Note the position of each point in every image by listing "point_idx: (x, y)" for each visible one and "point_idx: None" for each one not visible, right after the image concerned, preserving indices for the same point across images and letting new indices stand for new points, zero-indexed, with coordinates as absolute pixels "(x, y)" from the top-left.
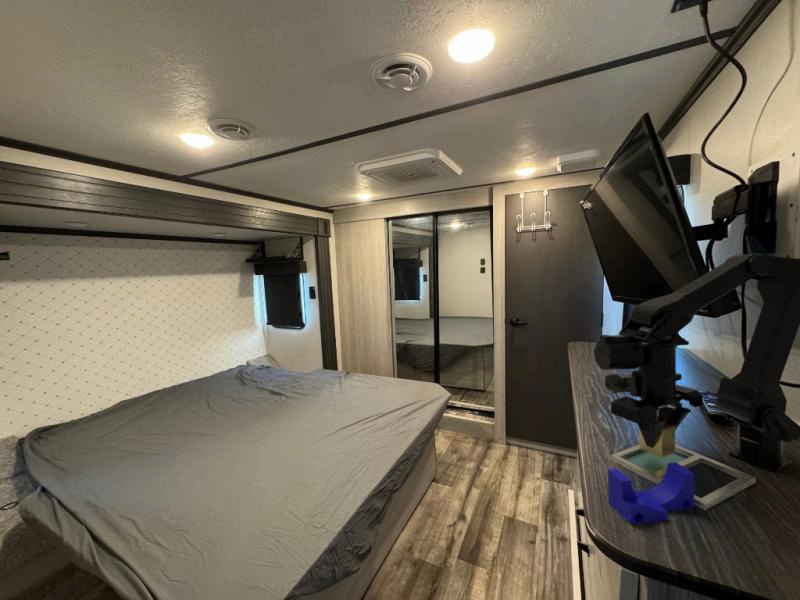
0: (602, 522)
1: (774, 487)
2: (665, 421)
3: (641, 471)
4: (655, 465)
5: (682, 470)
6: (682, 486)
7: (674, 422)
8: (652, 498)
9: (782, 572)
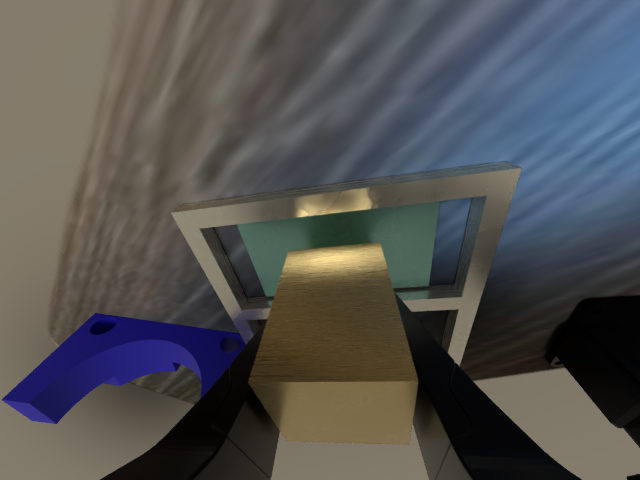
0: (67, 334)
1: (463, 370)
2: (425, 423)
3: (219, 295)
4: None
5: None
6: None
7: (427, 462)
8: (171, 352)
9: None
